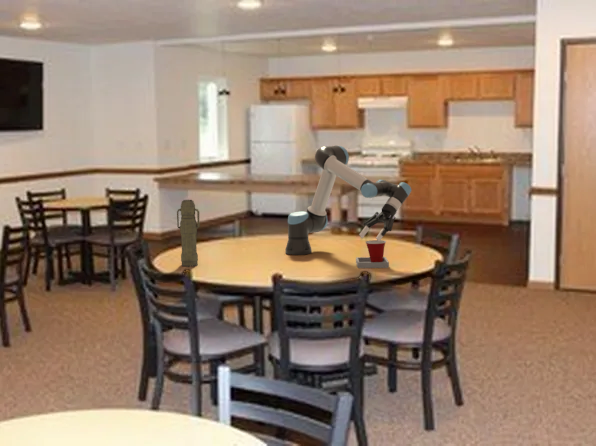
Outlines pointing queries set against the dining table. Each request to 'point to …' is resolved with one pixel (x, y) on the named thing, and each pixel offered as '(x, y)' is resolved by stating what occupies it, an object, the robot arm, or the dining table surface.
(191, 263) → the thermos
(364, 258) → the tray
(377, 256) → the plastic cup
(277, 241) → the dining table surface
